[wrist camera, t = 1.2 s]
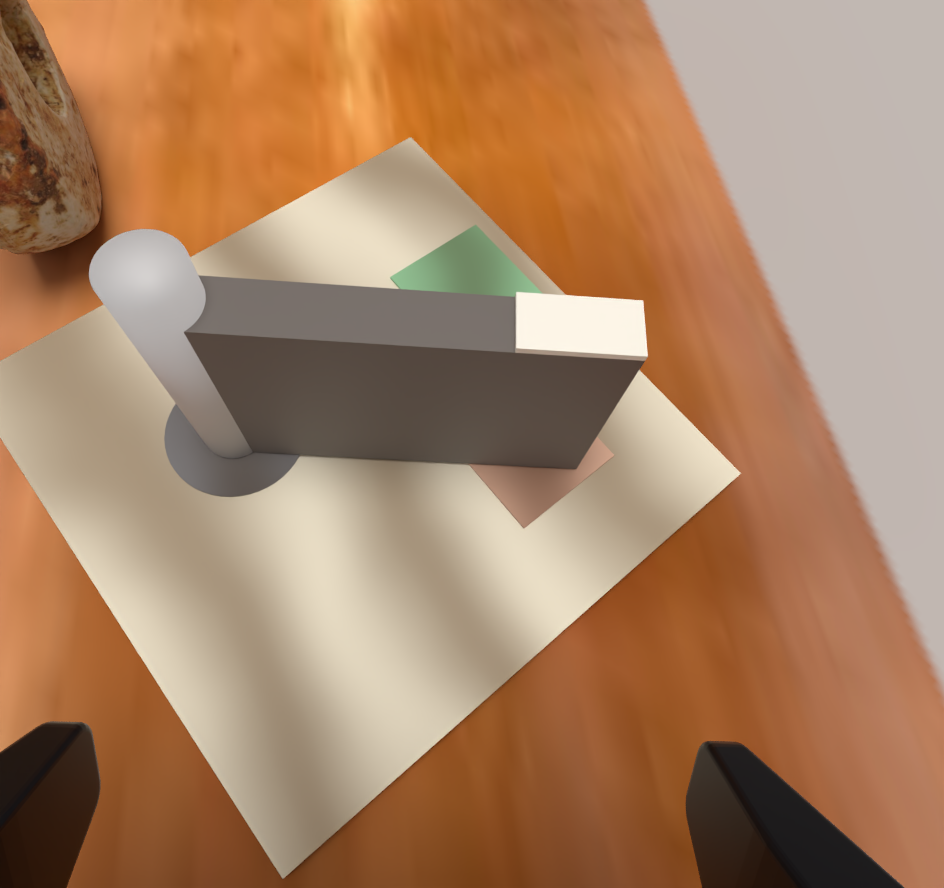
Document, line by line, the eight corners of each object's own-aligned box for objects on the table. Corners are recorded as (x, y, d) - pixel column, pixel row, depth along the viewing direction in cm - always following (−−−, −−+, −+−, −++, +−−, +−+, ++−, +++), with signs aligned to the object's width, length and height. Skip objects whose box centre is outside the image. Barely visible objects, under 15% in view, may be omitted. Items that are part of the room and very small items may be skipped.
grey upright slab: (197, 456, 22) (78, 305, 14) (208, 399, 22) (100, 225, 15) (576, 476, 22) (663, 343, 15) (574, 420, 23) (655, 265, 15)
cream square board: (286, 874, 18) (282, 879, 18) (-25, 389, 23) (-38, 379, 22) (733, 479, 24) (742, 472, 23) (410, 148, 28) (410, 135, 28)
